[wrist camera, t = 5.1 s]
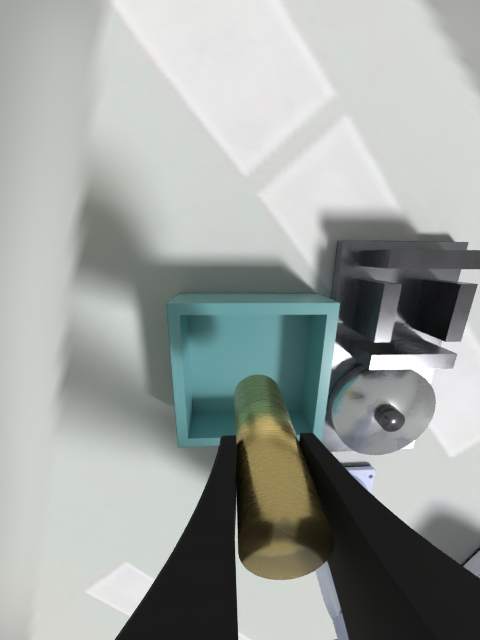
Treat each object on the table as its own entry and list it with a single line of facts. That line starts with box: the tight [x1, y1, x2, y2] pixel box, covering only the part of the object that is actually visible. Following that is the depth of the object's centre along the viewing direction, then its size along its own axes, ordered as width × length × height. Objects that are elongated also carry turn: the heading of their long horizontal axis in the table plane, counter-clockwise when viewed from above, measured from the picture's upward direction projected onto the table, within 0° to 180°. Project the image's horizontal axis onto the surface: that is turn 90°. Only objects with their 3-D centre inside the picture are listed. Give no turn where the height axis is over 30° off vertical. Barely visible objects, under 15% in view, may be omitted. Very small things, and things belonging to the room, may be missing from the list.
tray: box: [166, 293, 340, 447], centre depth 19 cm, size 12×12×4 cm
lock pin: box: [234, 375, 334, 580], centre depth 11 cm, size 3×3×8 cm
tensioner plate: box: [322, 241, 480, 455], centre depth 19 cm, size 20×10×4 cm, turn 0°
